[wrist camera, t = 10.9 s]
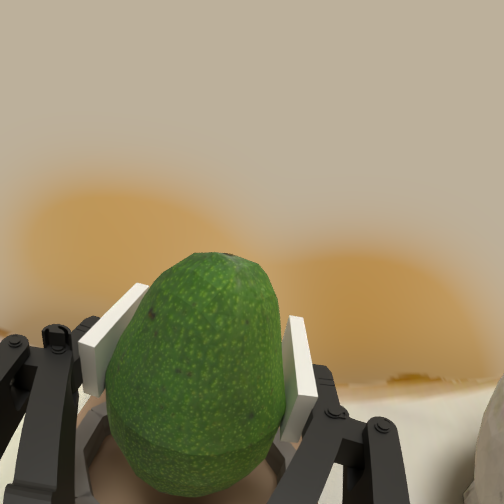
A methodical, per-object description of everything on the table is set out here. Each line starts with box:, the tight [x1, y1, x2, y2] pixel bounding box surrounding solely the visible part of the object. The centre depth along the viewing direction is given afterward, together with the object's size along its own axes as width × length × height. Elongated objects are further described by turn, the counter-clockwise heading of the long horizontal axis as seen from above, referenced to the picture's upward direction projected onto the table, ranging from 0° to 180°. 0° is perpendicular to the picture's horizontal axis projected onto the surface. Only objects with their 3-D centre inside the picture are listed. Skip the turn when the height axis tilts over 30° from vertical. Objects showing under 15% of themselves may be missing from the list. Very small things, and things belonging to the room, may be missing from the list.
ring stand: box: [75, 389, 318, 504], centre depth 15 cm, size 16×14×4 cm
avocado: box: [105, 252, 286, 497], centre depth 13 cm, size 8×8×12 cm
